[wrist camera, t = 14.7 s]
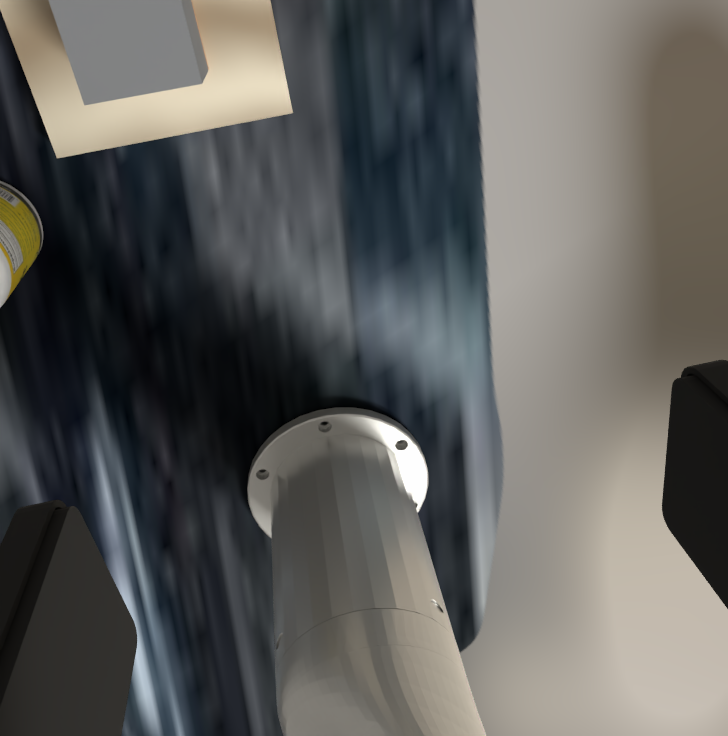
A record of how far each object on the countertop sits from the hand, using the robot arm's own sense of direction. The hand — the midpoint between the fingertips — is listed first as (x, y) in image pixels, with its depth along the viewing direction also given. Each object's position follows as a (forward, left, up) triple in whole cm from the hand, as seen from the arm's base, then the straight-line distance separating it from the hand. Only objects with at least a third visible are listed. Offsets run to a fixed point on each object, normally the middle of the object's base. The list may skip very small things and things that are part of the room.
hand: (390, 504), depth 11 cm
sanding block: (+8, +6, -29) cm, 30 cm away
